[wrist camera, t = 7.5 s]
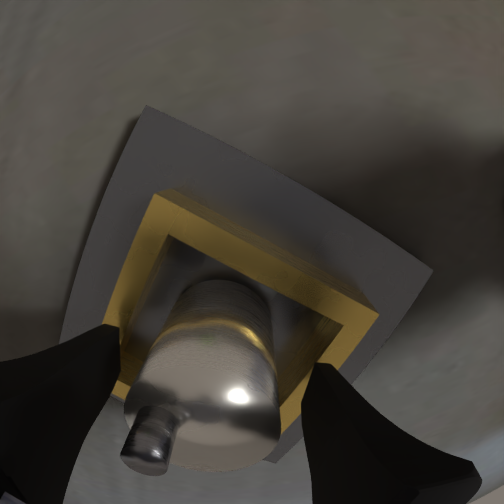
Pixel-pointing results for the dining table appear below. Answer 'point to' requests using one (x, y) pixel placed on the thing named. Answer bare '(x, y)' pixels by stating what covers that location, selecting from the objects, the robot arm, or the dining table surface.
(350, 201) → the dining table surface
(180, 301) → the spout can
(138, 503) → the dining table surface
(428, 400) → the dining table surface
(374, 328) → the fill port
